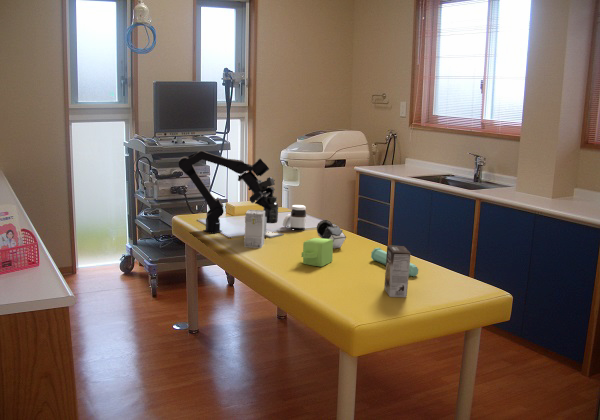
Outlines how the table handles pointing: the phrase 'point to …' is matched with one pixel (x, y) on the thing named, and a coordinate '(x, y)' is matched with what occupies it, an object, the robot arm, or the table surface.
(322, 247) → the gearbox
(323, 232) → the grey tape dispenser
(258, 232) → the circuit breaker
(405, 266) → the coffee box
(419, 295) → the table surface
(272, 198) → the supplement bottle
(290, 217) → the white and brown mug
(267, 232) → the grey mat
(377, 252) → the container
